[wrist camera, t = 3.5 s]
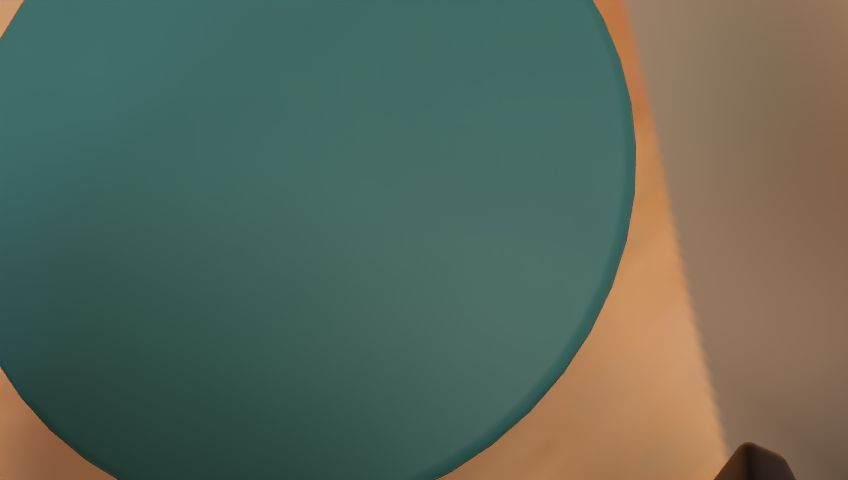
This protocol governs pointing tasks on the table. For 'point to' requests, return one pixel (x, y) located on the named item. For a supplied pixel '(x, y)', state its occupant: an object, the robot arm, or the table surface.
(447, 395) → the dauber
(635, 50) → the table surface
